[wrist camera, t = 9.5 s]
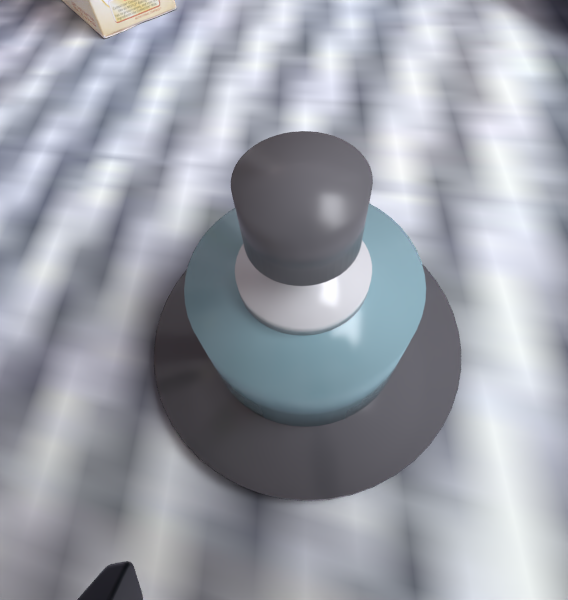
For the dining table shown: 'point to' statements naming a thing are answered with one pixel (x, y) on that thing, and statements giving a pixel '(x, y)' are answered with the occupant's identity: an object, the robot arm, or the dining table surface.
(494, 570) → the dining table surface
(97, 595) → the robot arm
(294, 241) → the knob
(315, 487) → the tiered round stand
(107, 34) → the coffeecake box
